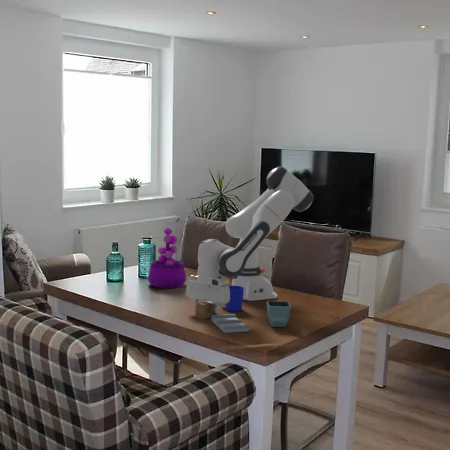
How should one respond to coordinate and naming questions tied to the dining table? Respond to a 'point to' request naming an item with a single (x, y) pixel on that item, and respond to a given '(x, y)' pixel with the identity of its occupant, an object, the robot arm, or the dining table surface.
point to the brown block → (205, 309)
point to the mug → (235, 298)
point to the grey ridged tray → (229, 323)
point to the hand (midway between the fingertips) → (207, 310)
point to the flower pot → (278, 313)
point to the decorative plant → (167, 266)
